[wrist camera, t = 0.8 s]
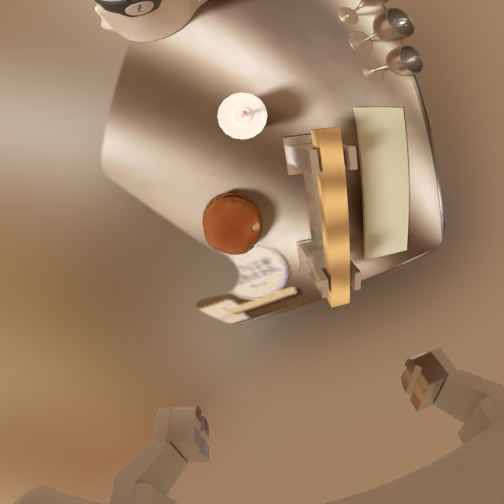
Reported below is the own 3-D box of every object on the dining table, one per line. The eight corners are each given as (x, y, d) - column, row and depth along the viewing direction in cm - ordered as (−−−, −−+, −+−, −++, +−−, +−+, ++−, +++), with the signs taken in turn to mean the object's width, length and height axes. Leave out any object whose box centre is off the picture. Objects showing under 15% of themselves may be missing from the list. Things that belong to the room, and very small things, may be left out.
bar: (310, 129, 33) (317, 129, 31) (331, 127, 33) (340, 127, 31) (326, 296, 44) (331, 307, 41) (343, 292, 44) (349, 302, 41)
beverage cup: (258, 100, 38) (273, 85, 26) (259, 138, 41) (274, 139, 28) (218, 101, 38) (215, 86, 25) (220, 139, 40) (216, 141, 28)
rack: (281, 137, 41) (300, 139, 31) (329, 132, 41) (360, 134, 31) (299, 271, 51) (317, 307, 41) (340, 263, 51) (365, 295, 41)
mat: (353, 107, 40) (355, 107, 39) (400, 107, 40) (402, 107, 39) (363, 258, 51) (365, 259, 50) (404, 248, 51) (406, 250, 50)
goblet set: (389, 80, 38) (436, 72, 25) (364, 85, 38) (408, 75, 26) (328, -41, 26) (353, -74, 14) (300, -39, 27) (321, -76, 14)
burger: (193, 205, 45) (190, 213, 40) (246, 182, 44) (249, 188, 40) (219, 256, 49) (218, 268, 44) (268, 235, 48) (273, 245, 44)
